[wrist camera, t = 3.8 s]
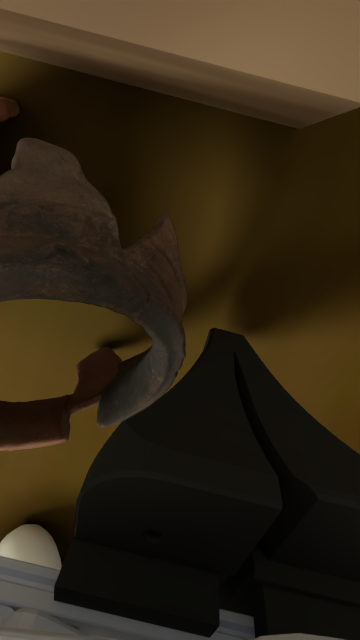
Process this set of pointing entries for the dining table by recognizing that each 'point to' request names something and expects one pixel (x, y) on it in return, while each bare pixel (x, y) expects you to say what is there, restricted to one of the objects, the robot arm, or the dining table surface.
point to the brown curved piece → (85, 287)
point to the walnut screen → (204, 50)
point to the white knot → (31, 546)
